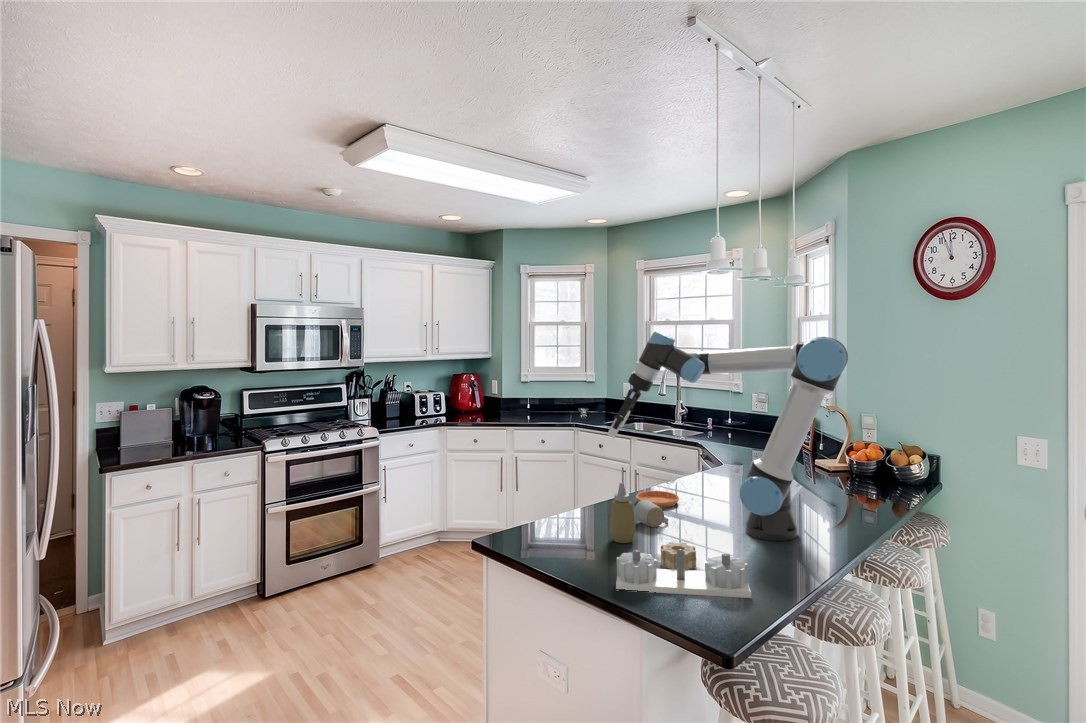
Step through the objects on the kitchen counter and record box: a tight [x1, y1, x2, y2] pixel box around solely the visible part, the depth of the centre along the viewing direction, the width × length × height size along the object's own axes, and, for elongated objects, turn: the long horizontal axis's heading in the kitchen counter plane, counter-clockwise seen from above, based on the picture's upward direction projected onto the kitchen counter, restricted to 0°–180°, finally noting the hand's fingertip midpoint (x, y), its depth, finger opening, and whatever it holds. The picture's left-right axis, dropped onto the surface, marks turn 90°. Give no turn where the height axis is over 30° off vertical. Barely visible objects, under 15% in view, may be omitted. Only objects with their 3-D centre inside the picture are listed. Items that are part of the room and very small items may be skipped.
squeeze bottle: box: [609, 482, 637, 544], centre depth 173 cm, size 8×8×18 cm
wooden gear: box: [660, 541, 697, 570], centre depth 154 cm, size 9×9×4 cm
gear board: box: [615, 549, 752, 599], centre depth 141 cm, size 32×11×9 cm, turn 79°
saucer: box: [635, 490, 679, 509], centre depth 213 cm, size 16×16×3 cm
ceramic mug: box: [633, 500, 669, 528], centre depth 188 cm, size 11×8×8 cm
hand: (615, 430), depth 188 cm, fingers open, 13 cm apart
